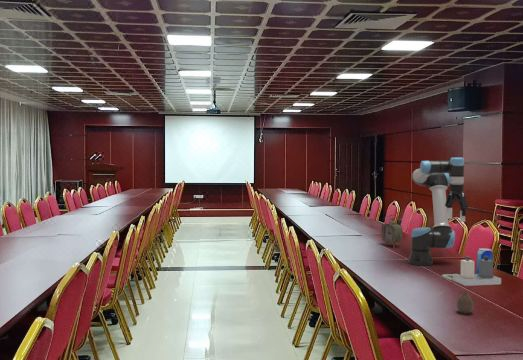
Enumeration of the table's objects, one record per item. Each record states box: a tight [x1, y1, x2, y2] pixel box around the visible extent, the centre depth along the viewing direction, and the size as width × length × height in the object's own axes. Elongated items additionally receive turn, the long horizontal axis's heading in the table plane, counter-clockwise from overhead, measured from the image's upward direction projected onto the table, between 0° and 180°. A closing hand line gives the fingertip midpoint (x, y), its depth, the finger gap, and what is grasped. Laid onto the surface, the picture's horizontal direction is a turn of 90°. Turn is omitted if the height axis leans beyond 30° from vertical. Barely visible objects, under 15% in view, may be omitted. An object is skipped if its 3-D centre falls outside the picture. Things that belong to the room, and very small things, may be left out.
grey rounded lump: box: [456, 291, 474, 315], centre depth 217 cm, size 7×7×9 cm
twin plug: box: [479, 256, 494, 278], centre depth 269 cm, size 5×5×14 cm
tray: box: [441, 273, 459, 281], centre depth 278 cm, size 9×9×2 cm
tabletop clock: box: [381, 214, 403, 249], centre depth 384 cm, size 14×9×25 cm, turn 25°
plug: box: [460, 255, 476, 279], centre depth 267 cm, size 5×5×14 cm
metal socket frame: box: [452, 273, 502, 287], centre depth 268 cm, size 12×21×4 cm, turn 100°
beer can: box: [476, 247, 494, 274], centre depth 284 cm, size 8×8×16 cm
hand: (455, 220), depth 287 cm, fingers open, 13 cm apart
